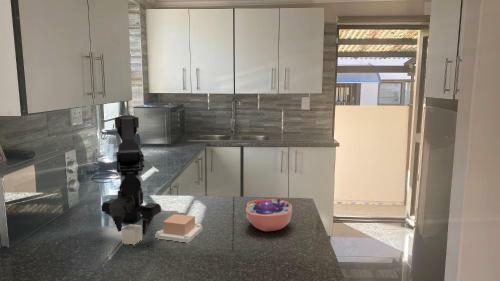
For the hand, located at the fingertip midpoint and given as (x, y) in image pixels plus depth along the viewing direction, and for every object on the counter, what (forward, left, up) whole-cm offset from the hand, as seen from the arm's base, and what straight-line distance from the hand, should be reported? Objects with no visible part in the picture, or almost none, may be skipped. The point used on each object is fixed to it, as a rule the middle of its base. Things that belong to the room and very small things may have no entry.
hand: (132, 232), depth 121 cm
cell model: (+40, +25, -3) cm, 47 cm away
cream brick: (0, 0, -3) cm, 3 cm away
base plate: (+12, +10, -3) cm, 16 cm away
